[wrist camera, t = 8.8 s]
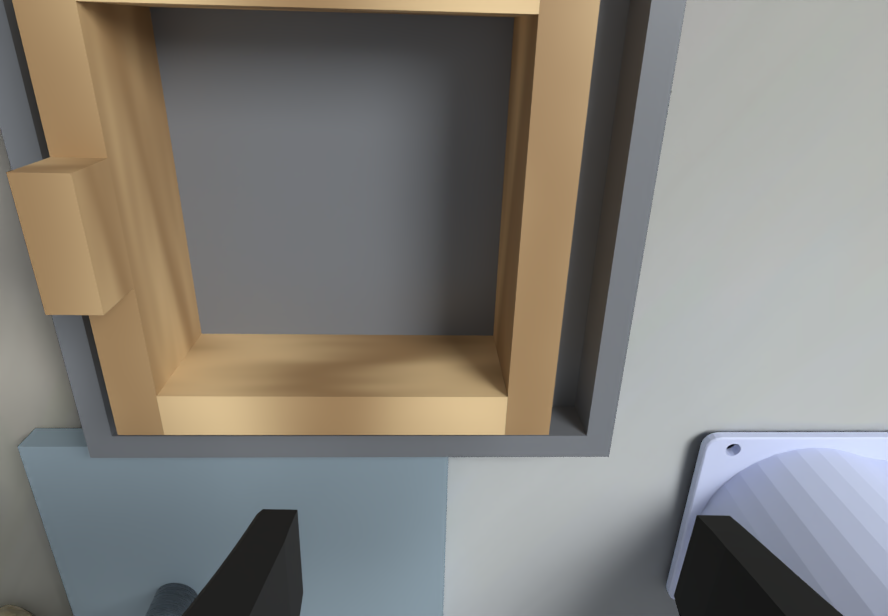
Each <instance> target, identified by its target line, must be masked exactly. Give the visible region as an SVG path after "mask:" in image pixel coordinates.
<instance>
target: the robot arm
mask: <svg viewBox="0 0 888 616" xmlns="http://www.w3.org/2000/svg"><path fill="white" fill-rule="evenodd" d="M731 444H734V446H733V447H731V448H729V449H727V447H728V446H730V445H731ZM666 589H667V592H668V594H669V596H670V597H671V598H672V599H674V600H675V601H676V605H677V608H678V612H679V615H680V616H888V432H716V433H711V434H709V435H707V436H706V437H705V438H704V439H703V441H702V443H701V446H700V450H699V454H698V458H697V462H696V466H695V470H694V474H693V478H692V482H691V487H690V491H689V495H688V499H687V503H686V507H685V511H684V515H683V519H682V523H681V527H680V531H679V535H678V539H677V543H676V547H675V551H674V556H673V560H672V564H671V568H670V572H669V576H668V580H667V584H666ZM302 598H303V581H302V567H301V553H300V538H299V524H298V510H291V509H262V510H261V511H260V512H259V513H257V514H256V516H255V517H254V519H253V520H252V522H251V524H250V525H249V526H248V528H247V529H246V531H245V532H244V534H243V535H242V537H241V538H240V540H239V541H238V542H237V544H236V545H235V547H234V548H233V549H232V551H231V552H230V554H229V555H228V556H227V558H226V559H225V560H224V562H223V563H222V564H221V566H220V567H219V569H218V570H217V571H216V573H215V574H214V575H213V577H212V578H211V579H210V580H209V582H208V583H207V584H206V585H205V587H204V588H203V589H202V591H201V592H200V593H199V594H198V596H197V597H196V598H195V599H194V601H193V602H192V603H191V605H190V606H189V607H188V608H187V610H186V611H185V612H184V613H183V615H182V616H300V611H301V604H302Z"/></svg>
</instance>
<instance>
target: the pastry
mask: <svg viewBox="0 0 888 616" xmlns="http://www.w3.org/2000/svg"><path fill="white" fill-rule="evenodd" d="M0 616H34V615H33V614H31V613H30V612H28V611H26V610H24V609H22V608H20V607H17V606H13V605H5V606H3V607H1V608H0Z"/></svg>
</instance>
